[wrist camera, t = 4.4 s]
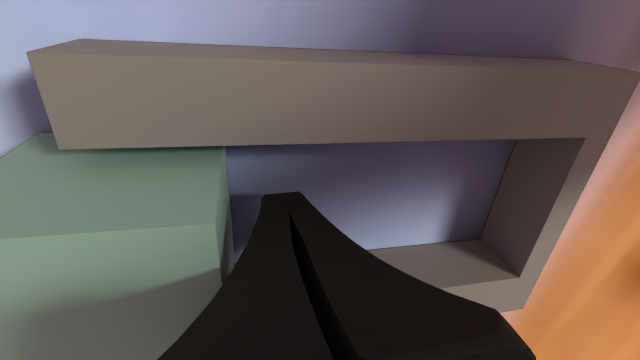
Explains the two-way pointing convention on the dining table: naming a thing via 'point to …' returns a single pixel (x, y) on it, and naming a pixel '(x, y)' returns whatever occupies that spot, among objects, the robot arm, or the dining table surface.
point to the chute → (360, 126)
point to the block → (109, 248)
